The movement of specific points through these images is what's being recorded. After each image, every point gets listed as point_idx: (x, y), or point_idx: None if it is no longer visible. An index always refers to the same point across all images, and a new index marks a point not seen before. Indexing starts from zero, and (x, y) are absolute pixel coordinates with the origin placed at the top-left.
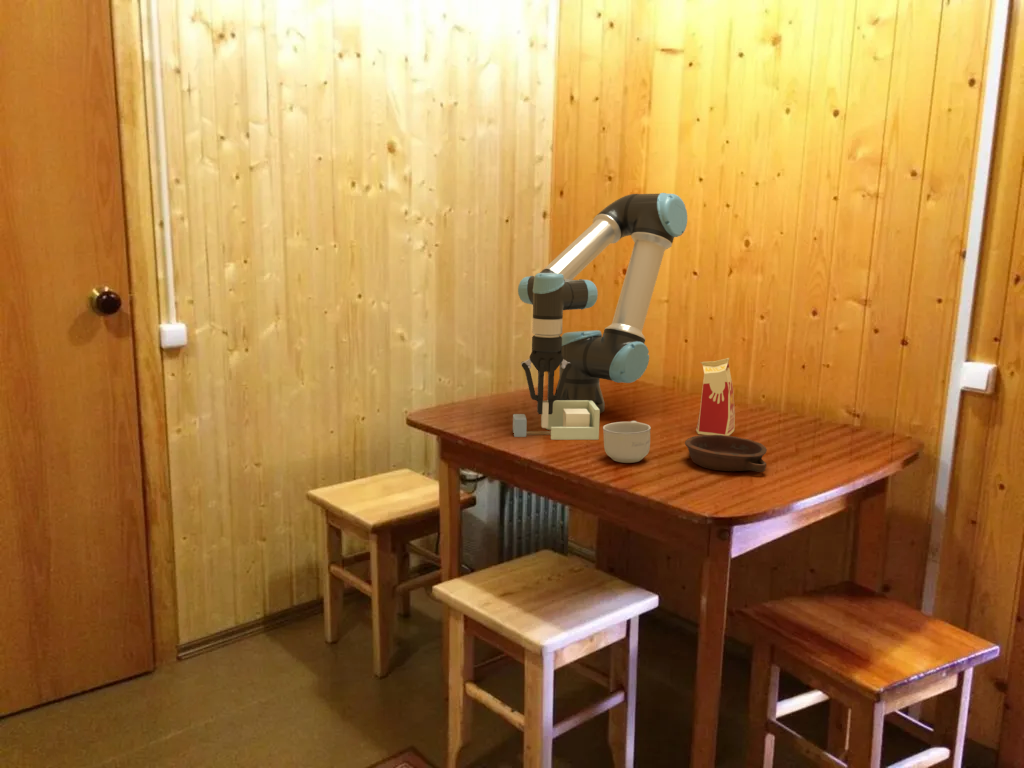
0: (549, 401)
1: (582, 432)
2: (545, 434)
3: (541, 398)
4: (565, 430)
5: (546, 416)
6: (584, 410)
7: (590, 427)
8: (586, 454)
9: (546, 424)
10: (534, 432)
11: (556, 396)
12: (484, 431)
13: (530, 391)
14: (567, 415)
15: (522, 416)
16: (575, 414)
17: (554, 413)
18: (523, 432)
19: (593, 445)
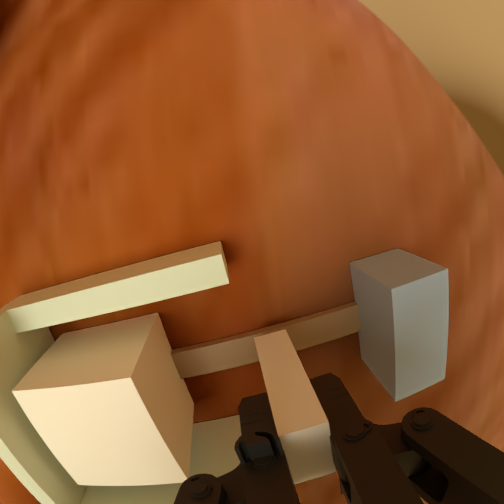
0: (273, 448)
1: (61, 290)
2: (262, 328)
3: (353, 444)
4: (138, 272)
5: (274, 369)
6: (67, 456)
7: (22, 317)
8: (49, 41)
9: (265, 344)
10: (317, 322)
11: (214, 496)
12: (486, 297)
13: (476, 441)
14: (125, 372)
15: (410, 352)
16: (78, 383)
17: None
18: (371, 264)
19: (21, 190)
